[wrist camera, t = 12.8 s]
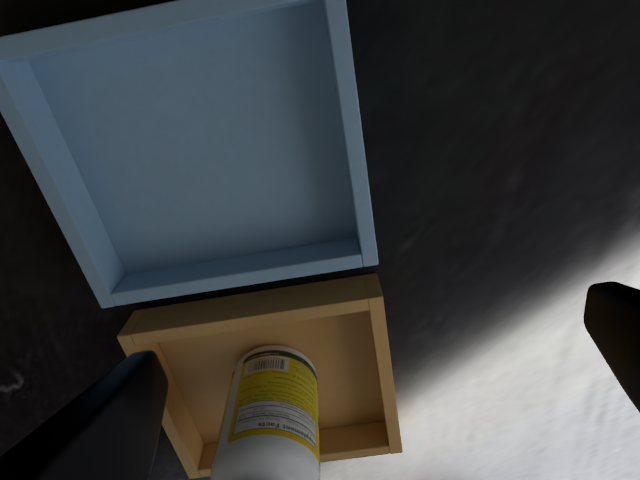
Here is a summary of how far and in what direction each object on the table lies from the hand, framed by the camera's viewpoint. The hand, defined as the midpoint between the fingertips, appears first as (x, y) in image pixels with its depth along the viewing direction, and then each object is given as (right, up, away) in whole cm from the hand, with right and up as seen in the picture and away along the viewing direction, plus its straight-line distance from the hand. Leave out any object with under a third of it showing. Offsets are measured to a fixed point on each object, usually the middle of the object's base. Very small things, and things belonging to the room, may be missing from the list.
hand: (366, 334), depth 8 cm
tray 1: (-6, +6, +11) cm, 14 cm away
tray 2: (-4, -7, +18) cm, 19 cm away
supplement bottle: (-4, -7, +18) cm, 19 cm away
